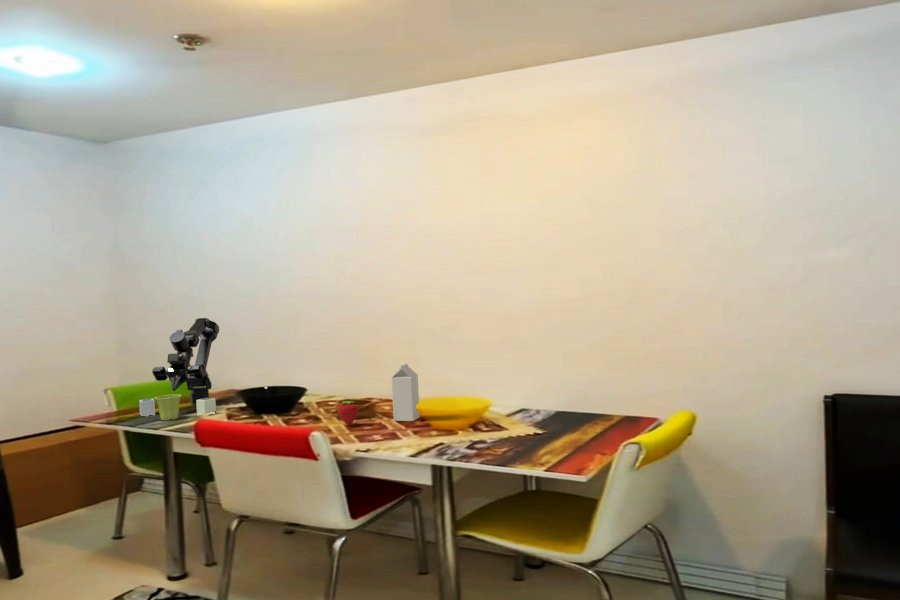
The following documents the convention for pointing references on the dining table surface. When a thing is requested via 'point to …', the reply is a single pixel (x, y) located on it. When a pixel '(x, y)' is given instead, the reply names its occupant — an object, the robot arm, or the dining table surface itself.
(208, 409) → the sage block
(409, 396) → the milk carton
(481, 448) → the dining table surface
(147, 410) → the slate block
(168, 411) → the plant pot
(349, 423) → the strawberry
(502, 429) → the dining table surface
